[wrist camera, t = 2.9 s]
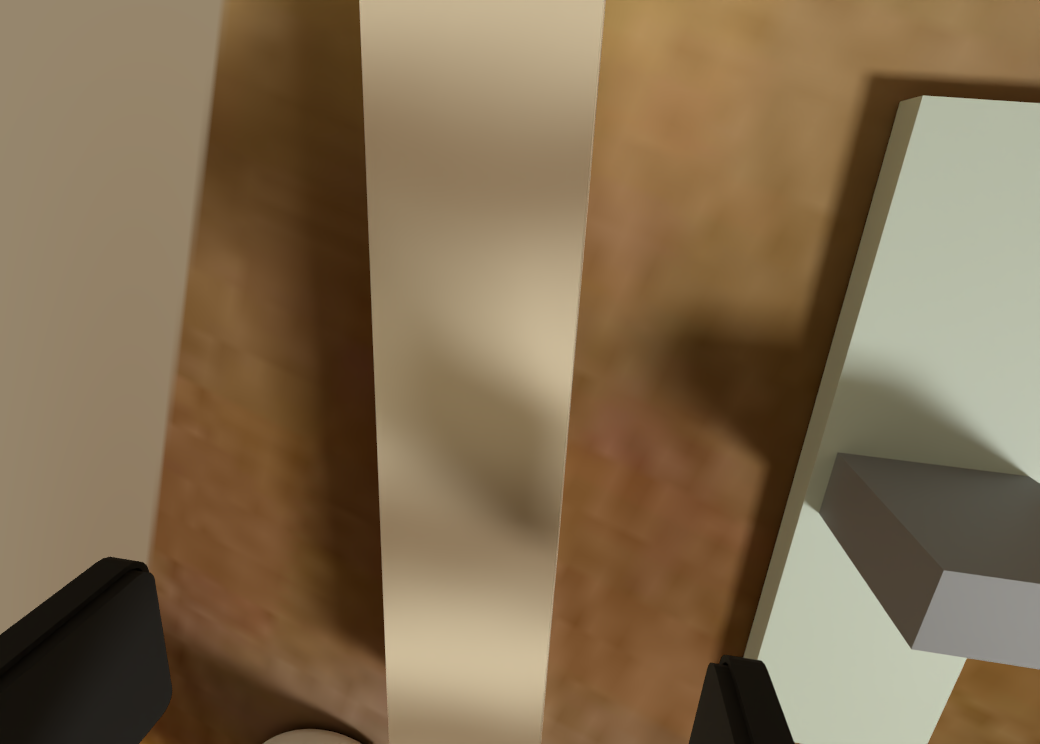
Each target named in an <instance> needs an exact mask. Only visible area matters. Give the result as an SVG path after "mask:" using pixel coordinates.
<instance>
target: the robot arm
mask: <svg viewBox="0 0 1040 744" xmlns="http://www.w3.org/2000/svg"><path fill="white" fill-rule="evenodd" d="M171 695H172V685H171V679H170V672H169V666H168V660H167V654H166V647H165V641H164V635H163V629H162V622H161V616H160V610H159V603H158V597H157V591H156V585H155V579H154V576H153V575H152V574H151V573H149V570H148V567H147V565H146V564H144V563H143V562H139V561H132V560H126V559H120V558H114V557H107V558H103V559H102V560H100V561H98V562H97V563H95V564H94V565H93V566H91V567H90V568H89V569H87V570H86V571H85V572H83V573H82V574H81V575H79V576H78V577H77V578H75V579H74V580H73V581H71V582H70V583H69V584H67V585H66V586H65V587H63V588H62V589H61V590H59V591H58V592H57V593H55V594H54V595H53V596H51V597H50V598H49V599H47V600H46V601H45V602H43V603H42V604H41V605H39V606H38V607H37V608H35V609H34V610H33V611H31V612H30V613H29V614H27V615H26V616H25V617H23V618H22V619H21V620H19V621H18V622H17V623H15V624H14V625H13V626H11V627H10V628H9V629H7V630H6V631H5V632H3V633H2V634H1V635H0V744H139V743H140V742H141V741H142V739H143V738H144V737H145V736H146V734H147V733H148V732H149V731H150V730H151V728H152V727H153V726H154V725H155V723H156V722H157V721H158V720H159V719H160V717H161V716H162V715H163V713H164V712H165V710H166V709H167V707H168V705H169V702H170V699H171ZM689 744H795V743H794V741H793V738H792V735H791V732H790V730H789V727H788V724H787V722H786V719H785V716H784V713H783V711H782V708H781V705H780V702H779V700H778V697H777V694H776V692H775V689H774V686H773V683H772V681H771V678H770V675H769V672H768V670H767V668H766V666H765V664H764V663H763V662H762V661H761V660H755V659H748V658H742V657H736V656H730V655H723V656H722V658H721V660H720V663H719V664H716V663H710V664H709V665H708V668H707V672H706V676H705V680H704V684H703V688H702V692H701V696H700V700H699V704H698V708H697V712H696V717H695V721H694V725H693V729H692V733H691V737H690V741H689Z"/></svg>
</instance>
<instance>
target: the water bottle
mask: <svg viewBox="0 0 1040 744" xmlns="http://www.w3.org/2000/svg"><path fill="white" fill-rule="evenodd" d="M263 744H361V743H360V742H358V741H356V740H354V739H352V738H350V737H347V736H345V735H342V734H339V733H336V732H332V731H327V730H321V729H299V730H293V731H289V732H285V733H282V734H279V735H277V736H275V737H273V738H271V739H269V740H267V741H266V742H264V743H263Z"/></svg>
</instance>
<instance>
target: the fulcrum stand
mask: <svg viewBox="0 0 1040 744" xmlns="http://www.w3.org/2000/svg"><path fill="white" fill-rule="evenodd" d="M743 658H748V659H755V660H761V661H762V662H763V663H764V664H765V666H766V668H767V670H768V672H769V675H770V678H771V681H772V683H773V686H774V689H775V692H776V694H777V697H778V700H779V702H780V705H781V708H782V711H783V713H784V716H785V719H786V722H787V724H788V727H789V730H790V732H791V735H792V738H793V741H794V742H796V743H802V744H928V741H929V739H930V737H931V735H932V733H933V731H934V728H935V726H936V724H937V722H938V720H939V717H940V715H941V713H942V711H943V709H944V707H945V704H946V702H947V700H948V698H949V696H950V694H951V691H952V689H953V687H954V685H955V683H956V680H957V678H958V676H959V674H960V672H961V670H962V667H963V665H964V663H965V661H966V659H967V658H970V659H977V660H983V661H990V662H996V663H1003V664H1009V665H1016V666H1022V667H1028V668H1035V669H1040V103H1029V102H1014V101H999V100H984V99H969V98H954V97H939V96H924V95H923V96H919V97H915V98H911V99H907V100H904V101H900V103H899V107H898V110H897V114H896V117H895V121H894V124H893V128H892V132H891V135H890V139H889V142H888V146H887V149H886V153H885V156H884V160H883V163H882V167H881V171H880V174H879V178H878V181H877V185H876V188H875V192H874V195H873V199H872V203H871V206H870V210H869V213H868V217H867V220H866V224H865V227H864V231H863V234H862V238H861V242H860V245H859V249H858V252H857V256H856V259H855V263H854V266H853V270H852V274H851V277H850V281H849V284H848V288H847V291H846V295H845V298H844V302H843V305H842V309H841V313H840V316H839V320H838V323H837V327H836V330H835V334H834V337H833V341H832V345H831V348H830V352H829V355H828V359H827V362H826V366H825V369H824V373H823V376H822V380H821V384H820V387H819V391H818V394H817V398H816V401H815V405H814V408H813V412H812V416H811V419H810V423H809V426H808V430H807V433H806V437H805V440H804V444H803V447H802V451H801V455H800V458H799V462H798V465H797V469H796V472H795V476H794V479H793V483H792V487H791V490H790V494H789V497H788V501H787V504H786V508H785V511H784V515H783V518H782V522H781V526H780V529H779V533H778V536H777V540H776V543H775V547H774V550H773V554H772V557H771V561H770V565H769V568H768V572H767V575H766V579H765V582H764V586H763V589H762V593H761V597H760V600H759V604H758V607H757V611H756V614H755V618H754V621H753V625H752V628H751V632H750V636H749V639H748V643H747V646H746V650H745V653H744V657H743Z"/></svg>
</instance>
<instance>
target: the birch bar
mask: <svg viewBox="0 0 1040 744" xmlns="http://www.w3.org/2000/svg"><path fill="white" fill-rule="evenodd" d="M605 3H606V0H359V5H360V30H361V55H362V80H363V105H364V130H365V155H366V180H367V205H368V230H369V255H370V280H371V306H372V331H373V356H374V381H375V406H376V431H377V456H378V481H379V506H380V531H381V556H382V581H383V606H384V631H385V656H386V681H387V706H388V731H389V744H541V737H542V726H543V715H544V704H545V692H546V681H547V669H548V658H549V646H550V635H551V623H552V612H553V600H554V589H555V577H556V566H557V554H558V543H559V531H560V520H561V508H562V497H563V486H564V474H565V463H566V451H567V440H568V428H569V417H570V405H571V394H572V382H573V371H574V359H575V348H576V336H577V325H578V313H579V302H580V290H581V279H582V267H583V256H584V244H585V233H586V221H587V210H588V198H589V187H590V175H591V164H592V153H593V141H594V130H595V118H596V107H597V95H598V84H599V72H600V61H601V49H602V38H603V26H604V15H605Z"/></svg>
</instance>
